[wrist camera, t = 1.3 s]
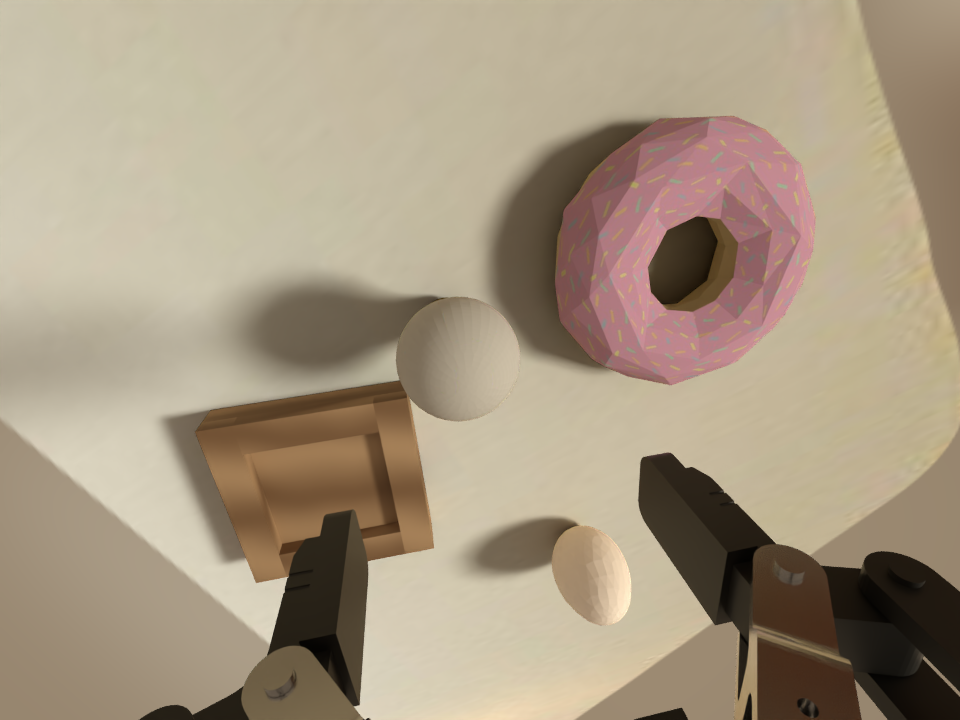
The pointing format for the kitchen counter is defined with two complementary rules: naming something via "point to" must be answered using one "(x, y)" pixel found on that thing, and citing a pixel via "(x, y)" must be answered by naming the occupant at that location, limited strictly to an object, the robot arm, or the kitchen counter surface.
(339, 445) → the base
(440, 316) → the light bulb
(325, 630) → the robot arm
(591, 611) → the egg
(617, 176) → the donut
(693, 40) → the kitchen counter surface
